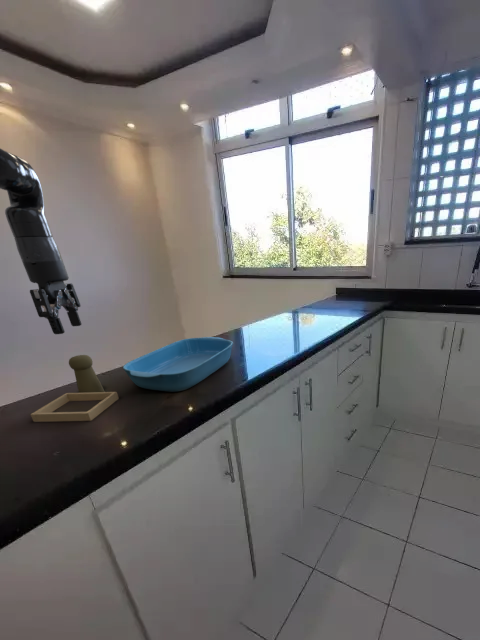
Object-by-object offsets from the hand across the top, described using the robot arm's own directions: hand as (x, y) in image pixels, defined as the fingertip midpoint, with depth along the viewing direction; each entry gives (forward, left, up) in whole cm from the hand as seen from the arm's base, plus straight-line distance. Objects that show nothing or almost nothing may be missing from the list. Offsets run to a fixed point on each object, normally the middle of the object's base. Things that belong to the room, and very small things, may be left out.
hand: (68, 329), depth 78 cm
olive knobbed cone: (0, 0, -18) cm, 18 cm away
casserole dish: (+22, +14, -18) cm, 32 cm away
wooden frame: (+4, -11, -18) cm, 21 cm away
